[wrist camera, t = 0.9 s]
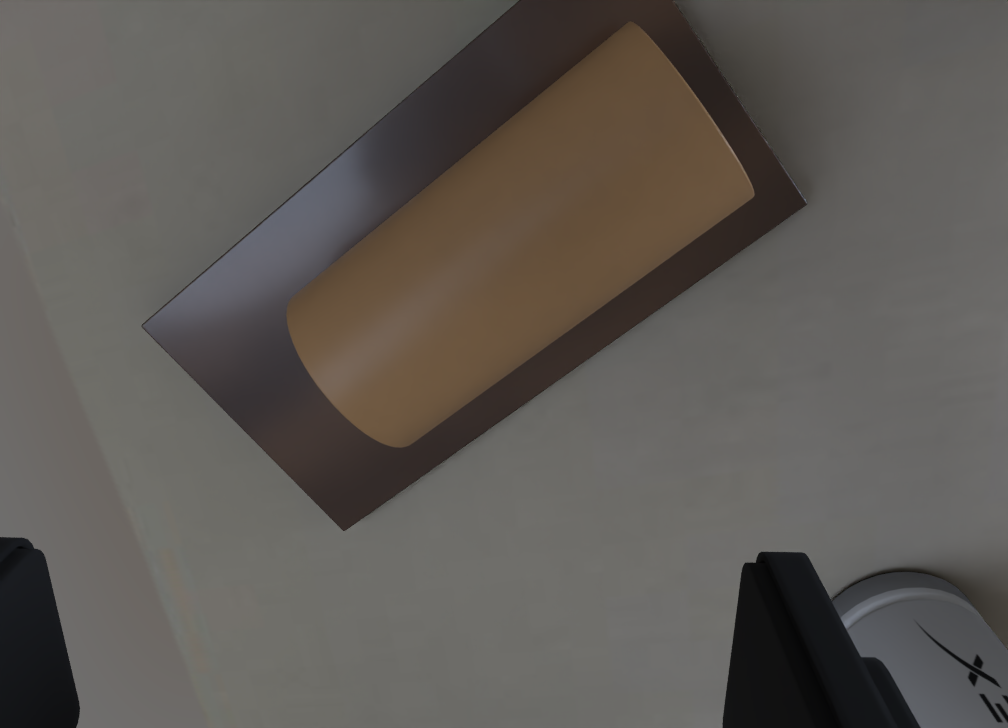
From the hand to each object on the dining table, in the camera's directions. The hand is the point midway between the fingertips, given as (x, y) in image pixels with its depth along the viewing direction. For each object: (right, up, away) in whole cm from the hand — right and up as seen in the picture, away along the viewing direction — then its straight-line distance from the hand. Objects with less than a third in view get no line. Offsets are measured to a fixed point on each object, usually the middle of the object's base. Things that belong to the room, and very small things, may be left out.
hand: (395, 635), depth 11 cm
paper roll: (+2, +8, +15) cm, 17 cm away
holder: (0, +7, +17) cm, 18 cm away
